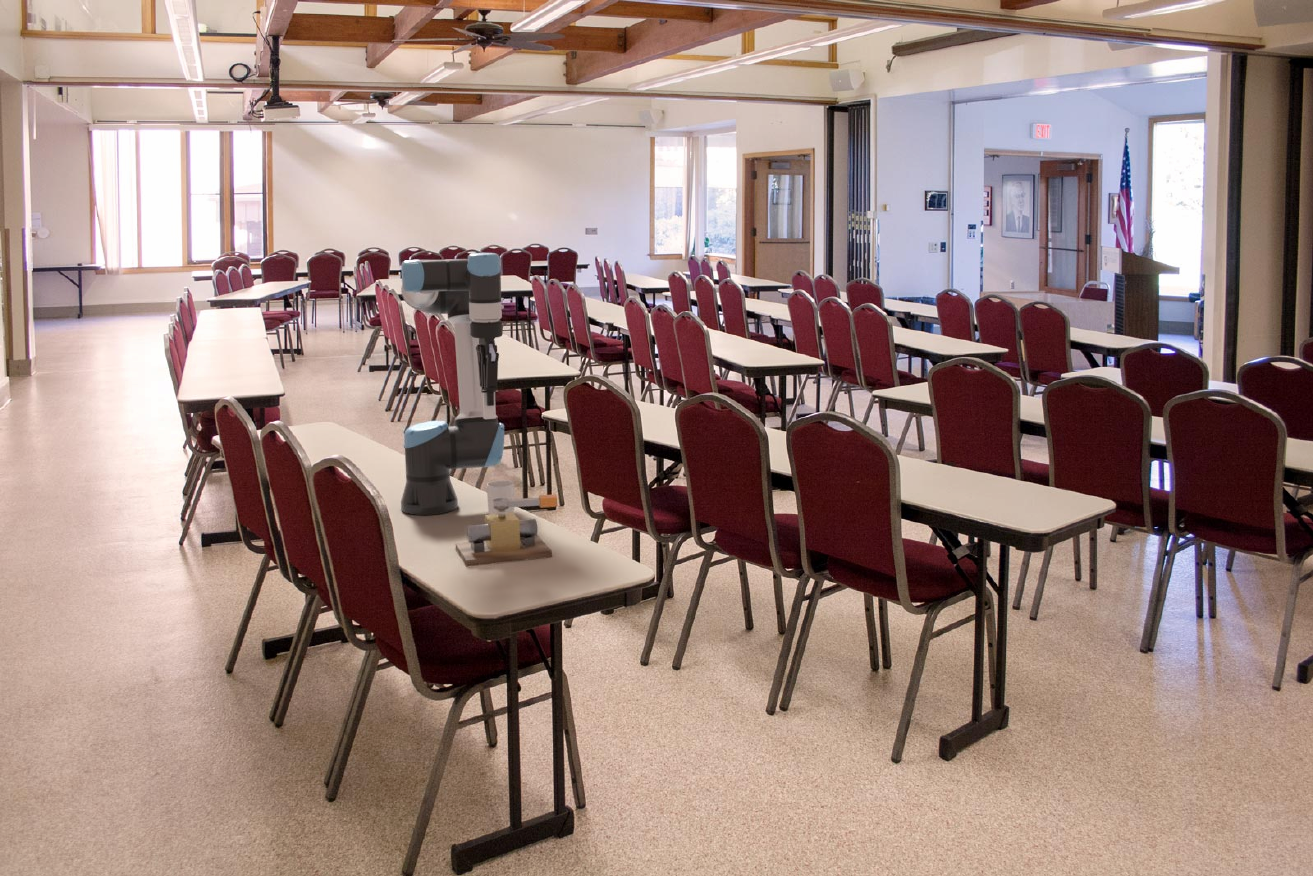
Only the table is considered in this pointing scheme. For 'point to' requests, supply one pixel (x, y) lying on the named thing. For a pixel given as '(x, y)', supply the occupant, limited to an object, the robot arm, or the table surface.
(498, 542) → the valve body
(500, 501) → the valve lever
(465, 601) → the table surface
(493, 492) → the mug
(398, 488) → the table surface
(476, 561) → the base board
